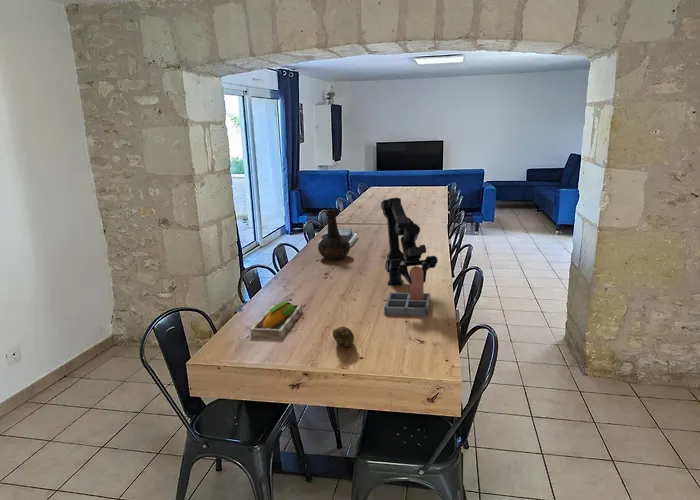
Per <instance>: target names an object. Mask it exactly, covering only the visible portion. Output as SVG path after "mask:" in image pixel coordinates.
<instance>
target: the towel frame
mask: <svg viewBox="0 0 700 500" xmlns="http://www.w3.org/2000/svg"><path fill="white" fill-rule="evenodd" d="M352 234H353V235H352V238H351V240H350V241H349V243H350V248H351V247H352V245H353V244H354V243H355V241H357V239H358V233H355V232H354V233H352ZM321 240H322V238H321V239H320V240H319V241H318V242H317V244H318V245H319V242H320V241H321Z"/></svg>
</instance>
